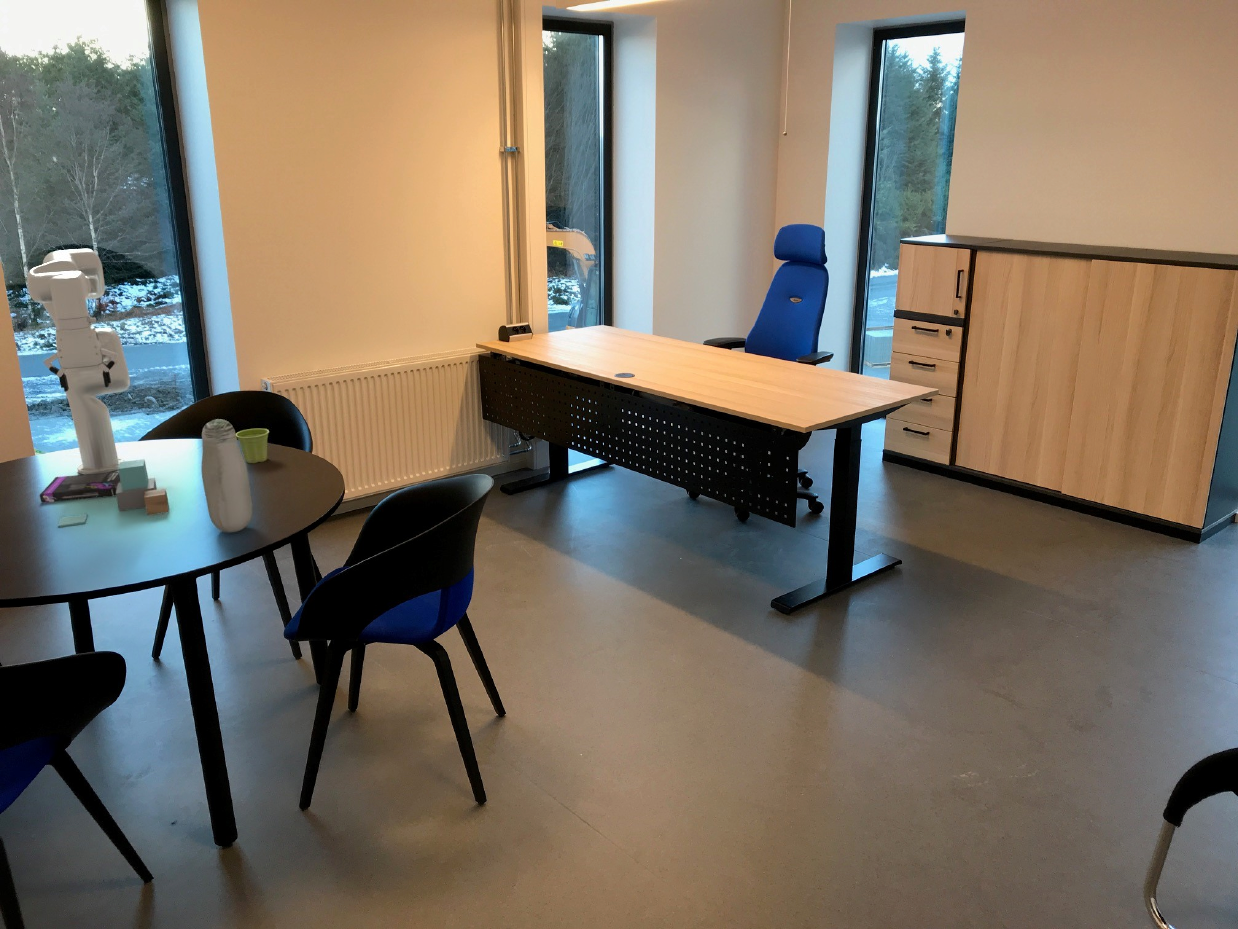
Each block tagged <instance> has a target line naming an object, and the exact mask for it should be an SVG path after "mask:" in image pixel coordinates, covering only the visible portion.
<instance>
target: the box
mask: <svg viewBox="0 0 1238 929" xmlns="http://www.w3.org/2000/svg"><path fill="white" fill-rule="evenodd" d="M118 483H121V481H120V476H119V471H115V472H114V471H112V472H108V473H99V474H74V475H64V476H55V477H54V478H53V479H52V481H51V482H50V483H49V484H48V485H47V486H46V487H45V488H44V489H43V490H42V491H41V493H39V495H38V496H39V500H40V502H46V503H54V502H55V503H56V502H65V501H77V500H87V499H98V498H107V497H108V498H109V497H110V498H111V497H116V490H117V486H118Z"/></svg>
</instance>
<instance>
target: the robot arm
mask: <svg viewBox="0 0 1238 929" xmlns="http://www.w3.org/2000/svg"><path fill="white" fill-rule="evenodd" d="M26 282H27V290H28V291H27V292H28V293H29V296H30V297H31V299H32V300H33V301H34V302H35V303H39V304H42V306H43V307H44V309H45V310H46V312H47V313H48V315H49V317H51V319H52V321H53V323H54V326H55V343H56V353H53V354H52V355H51V356H49V357H47V358H45V359H44V360H43V362H42V363H43V364H44V365H45V367H46V368H47V369H48V370H49V371H50V372H51V373H52V374H54V375H56V376H57V377H58V379H59V385H60V389H63V391H64V392H65V395H66V398H67V401H68V404H69V408H70V412H71V416H72V420H73V426H74V430H75V435H76V439H77V444H78V449H79V454H80V458H81V464H80V465H78V466H77V468H76V469H77V472H78V473H79V474H80V475H86V474H99V473H111V472H114V471H115V472H116V471H118V468H119V464H120V462H125V460H124V459H123V458H119V457H118V452H117V448H116V442H115V437H114V432H113V428H112V422H111V417H110V412H109V409H108V407H107V406H106V404H105V403H104V402H103V401H102V400H100V399H99V398H97V396H100V395H101V396H102V395H109V394H116V393H122V392H125V391H126V390H128V389H129V388H130V383H131V378H130V373H129V368H128V365H127V361H126V360H127V359H126V357H125V352H124V349H123V348H124V347H123V345H122V341H121V338H120V336H119V334H118V332H117V331H116V330H114V329H112V328H109V327H107V328H106V327H105V328H104V327H103V328H96V327H95V326H92V325H93V324H96V323H97V319H96V317H91V316H90V315H89V310H88V305H87V300H95V299H100V298H102V297H103V296H104V294H105V291H106V285H105V278H104V270H103V264H102V261H101V259H100V257H99V255H98V254H97V253H96V252H95V251H94V250H92V249H91V248H78V249H77V248H75V249H64V250H55V251H51V252H49V253H48V254H47V255H45V256H44V259H43V261H42V264H41V265H38V266H35V267H33V268H31V269H30V270H29V271H28V273H27V277H26ZM57 359H58V363H59V367H60V368H58V367H56V366H55V365H54V364H53V362H54V361H56V360H57Z"/></svg>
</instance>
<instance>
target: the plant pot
mask: <svg viewBox="0 0 1238 929" xmlns="http://www.w3.org/2000/svg"><path fill="white" fill-rule="evenodd" d="M269 433H270V431H269V429H267V428H250V429H243V430H240V431H238V432H235V434H236V438H237V441H238V442H239V444H240V445H239V446H240V449H241V452H242V455H243V457H244V460H245V463H248V464H256V463H258V462H260V463H261V462H262V463H263V462H265V461H267V459H268V437H269Z"/></svg>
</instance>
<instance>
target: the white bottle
mask: <svg viewBox="0 0 1238 929" xmlns="http://www.w3.org/2000/svg"><path fill="white" fill-rule="evenodd" d="M201 440H202V441H201V442H202V456H201V466H200V467H201V479H202V483H203V484H202V485H203V489H204V493H205V500H206V505H207V511H208V515H209V519H210V521H211V522H212V524H213V526H214V527H215V528H216V529H217V530H219V531H221V532H222V533H236V532H240V531H242V530H243V529H245V528H246V527H247V526H248V525H249V524H250V522H251V520H252V516H253V502H252V496H251V495H252V494H251V488H250V480H249V473H248V467H247V462H246V461H245V458H244V454H243V451H242V449H241V447H240V445H239V441H238V438H237V437H236V430H235V428H234V427H233V425H232V424H231V423H230V422H229V421H227V419H226V420H225V419H221V418H220V419H219V418H217V419H216V418H215V419H212V420H211V421H209V422H207V423H206V424H205V425H204V426H203V428H202V432H201Z"/></svg>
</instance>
